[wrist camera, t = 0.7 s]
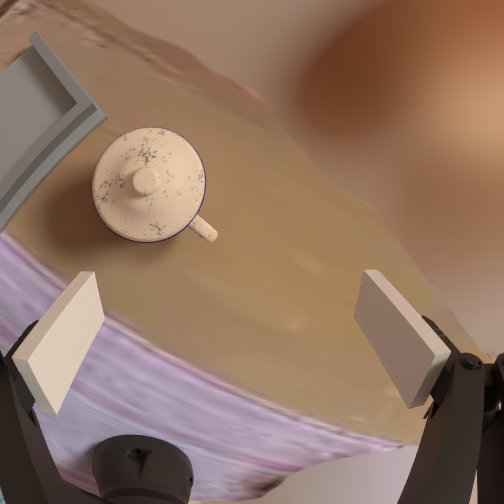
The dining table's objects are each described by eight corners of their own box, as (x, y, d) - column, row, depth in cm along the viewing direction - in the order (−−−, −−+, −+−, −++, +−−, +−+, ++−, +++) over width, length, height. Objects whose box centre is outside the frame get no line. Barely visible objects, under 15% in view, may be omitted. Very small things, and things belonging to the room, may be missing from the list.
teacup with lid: (94, 198, 28) (56, 194, 17) (148, 130, 29) (141, 91, 18) (180, 267, 32) (189, 299, 21) (233, 200, 32) (269, 198, 21)
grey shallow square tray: (0, 233, 25) (-13, 236, 22) (-51, 143, 21) (-64, 140, 17) (107, 117, 27) (102, 109, 24) (44, 39, 22) (36, 27, 19)
